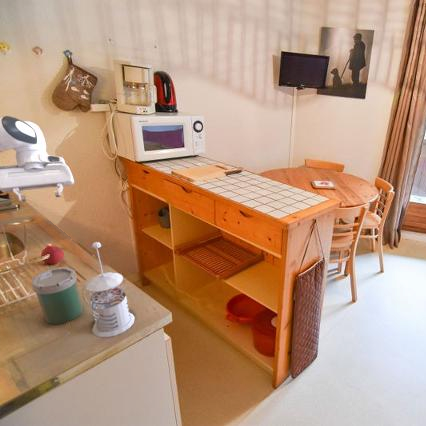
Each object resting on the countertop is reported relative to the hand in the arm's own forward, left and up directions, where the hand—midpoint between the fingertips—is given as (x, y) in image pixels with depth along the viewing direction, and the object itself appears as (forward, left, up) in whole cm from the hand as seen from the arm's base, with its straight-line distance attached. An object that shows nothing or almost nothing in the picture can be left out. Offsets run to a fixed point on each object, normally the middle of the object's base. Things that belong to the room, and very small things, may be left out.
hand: (41, 198), depth 109 cm
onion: (+3, -12, -20) cm, 24 cm away
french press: (+24, -49, -20) cm, 58 cm away
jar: (+12, -41, -20) cm, 47 cm away
